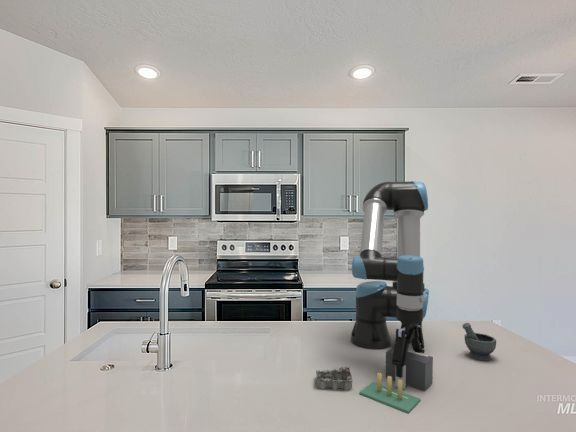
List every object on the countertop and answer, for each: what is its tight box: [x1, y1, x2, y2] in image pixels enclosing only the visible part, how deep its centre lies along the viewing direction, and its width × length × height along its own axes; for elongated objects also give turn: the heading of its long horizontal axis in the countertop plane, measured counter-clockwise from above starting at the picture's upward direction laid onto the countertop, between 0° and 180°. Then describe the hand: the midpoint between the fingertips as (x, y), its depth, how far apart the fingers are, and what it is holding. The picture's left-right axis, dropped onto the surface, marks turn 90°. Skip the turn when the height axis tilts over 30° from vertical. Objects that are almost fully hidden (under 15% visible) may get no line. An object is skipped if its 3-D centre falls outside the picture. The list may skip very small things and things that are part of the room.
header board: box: [359, 372, 421, 414], centre depth 96 cm, size 14×8×6 cm, turn 48°
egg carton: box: [315, 366, 354, 391], centre depth 103 cm, size 11×8×4 cm
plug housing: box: [385, 346, 434, 392], centre depth 105 cm, size 12×6×8 cm, turn 48°
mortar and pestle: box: [461, 322, 497, 361], centre depth 124 cm, size 11×9×12 cm
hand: (408, 380), depth 105 cm, fingers open, 11 cm apart
